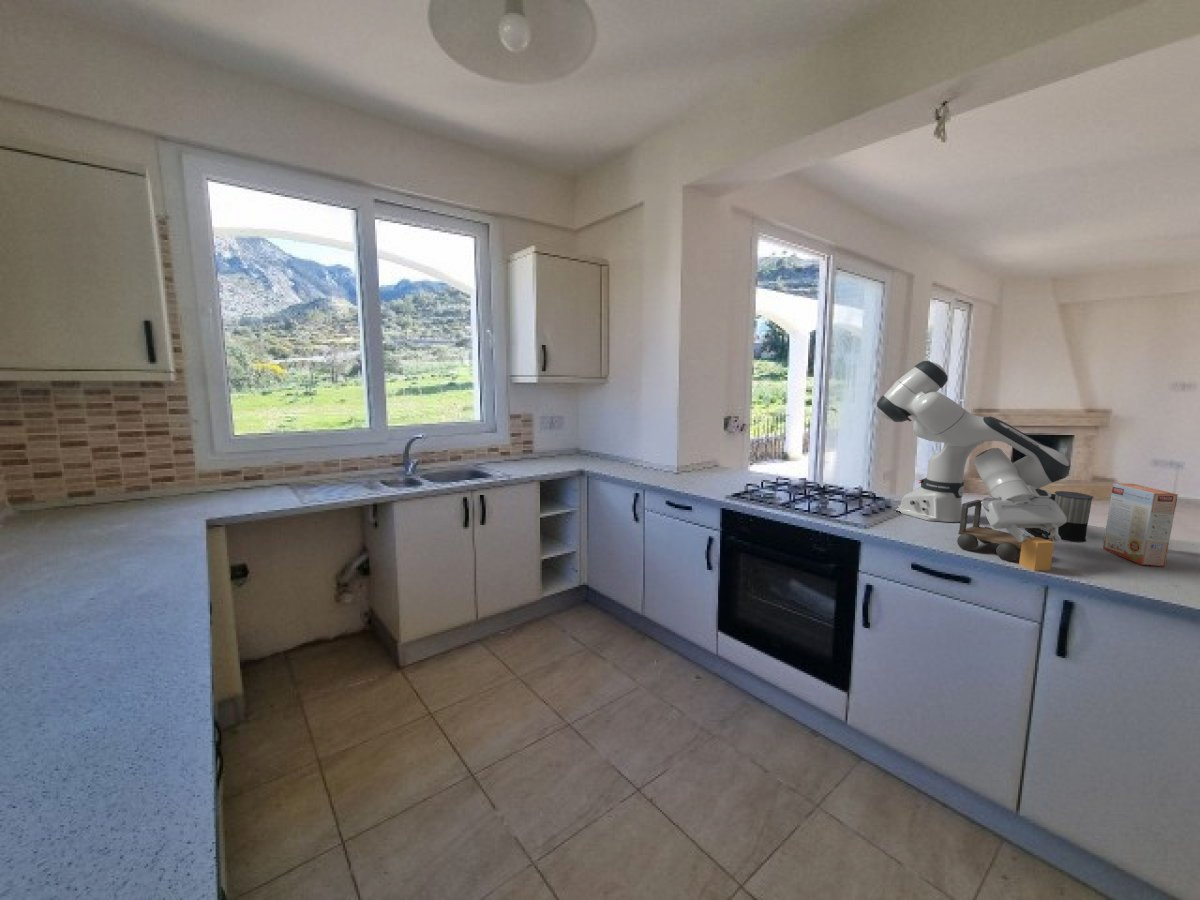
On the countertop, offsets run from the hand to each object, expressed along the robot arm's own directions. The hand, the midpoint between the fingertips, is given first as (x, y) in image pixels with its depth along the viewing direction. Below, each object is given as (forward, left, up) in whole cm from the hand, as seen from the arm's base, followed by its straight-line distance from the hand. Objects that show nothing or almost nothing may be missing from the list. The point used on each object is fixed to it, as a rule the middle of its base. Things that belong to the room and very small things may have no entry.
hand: (1040, 540), depth 135 cm
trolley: (-12, +7, -8) cm, 16 cm away
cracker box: (+11, +35, -8) cm, 37 cm away
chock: (-1, 0, -8) cm, 8 cm away
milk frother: (-8, +38, -8) cm, 40 cm away
